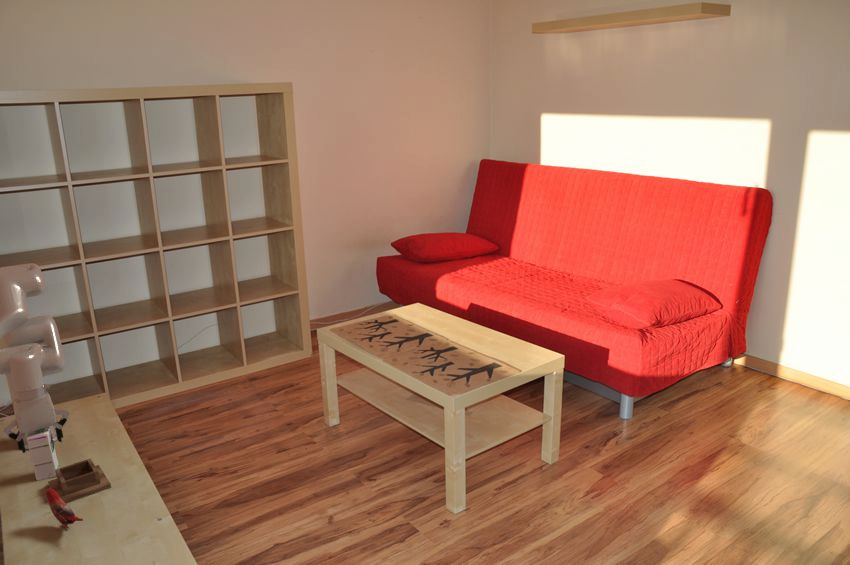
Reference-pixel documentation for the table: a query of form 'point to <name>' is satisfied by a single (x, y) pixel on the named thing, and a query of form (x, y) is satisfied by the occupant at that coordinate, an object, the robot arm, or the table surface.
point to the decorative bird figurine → (61, 509)
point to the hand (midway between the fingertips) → (41, 445)
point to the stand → (79, 481)
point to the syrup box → (43, 453)
